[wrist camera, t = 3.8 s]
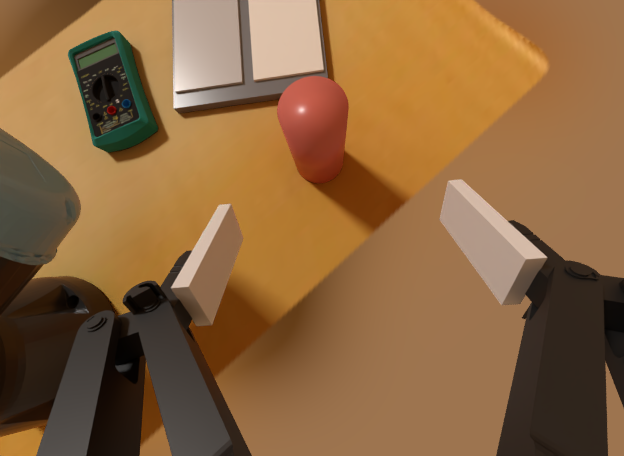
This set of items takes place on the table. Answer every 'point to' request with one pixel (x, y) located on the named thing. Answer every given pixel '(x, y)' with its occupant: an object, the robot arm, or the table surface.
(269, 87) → the board
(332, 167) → the pink domed cylinder
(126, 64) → the digital multimeter
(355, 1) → the table surface
